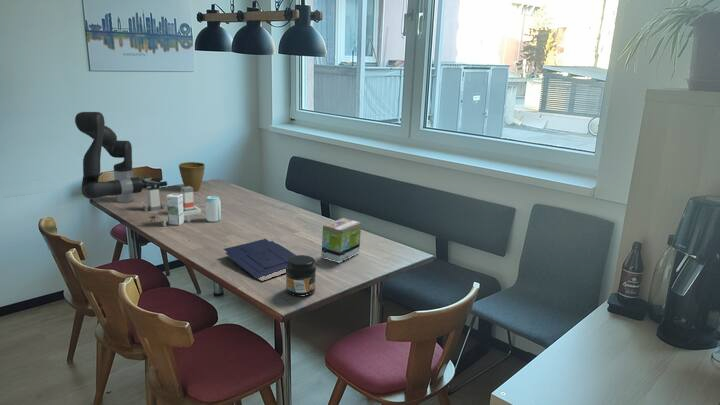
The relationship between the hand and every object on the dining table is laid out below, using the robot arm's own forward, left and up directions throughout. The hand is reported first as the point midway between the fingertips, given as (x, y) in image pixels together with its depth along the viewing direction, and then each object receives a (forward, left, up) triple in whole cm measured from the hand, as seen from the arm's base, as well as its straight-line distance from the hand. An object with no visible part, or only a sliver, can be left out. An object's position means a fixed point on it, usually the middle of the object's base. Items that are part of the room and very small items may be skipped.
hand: (163, 181), depth 253 cm
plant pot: (-43, +33, -18) cm, 57 cm away
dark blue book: (+80, +10, -19) cm, 83 cm away
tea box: (+92, +39, -19) cm, 102 cm away
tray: (0, +12, -18) cm, 22 cm away
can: (+18, +17, -18) cm, 31 cm away
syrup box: (+13, 0, -18) cm, 23 cm away
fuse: (-16, 0, -18) cm, 24 cm away
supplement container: (+110, +6, -19) cm, 112 cm away
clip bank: (-1, -1, -18) cm, 18 cm away
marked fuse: (0, +12, -17) cm, 21 cm away
